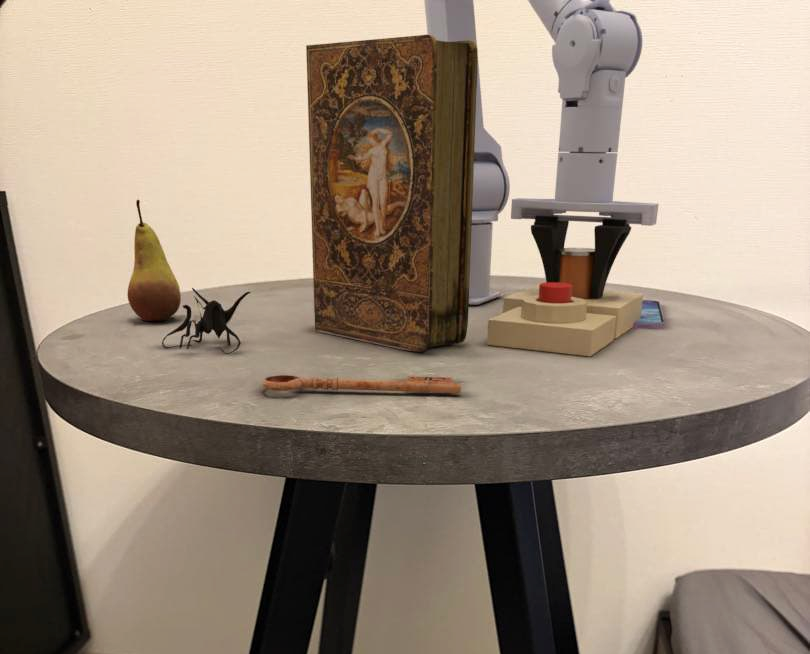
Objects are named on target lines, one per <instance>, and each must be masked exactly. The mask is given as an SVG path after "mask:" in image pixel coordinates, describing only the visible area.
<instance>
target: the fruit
mask: <svg viewBox="0 0 810 654" xmlns="http://www.w3.org/2000/svg"><path fill="white" fill-rule="evenodd" d="M140 203H141V202H140V199H137V200H136V202H135V204H136V208H137V214H138V218H139V223H138V224H137V225H136V226H135V229H134V230H135V232H134V249H133V250H134V263H133V271H132V274H131V276H130V279H129V283H128V287H127V300H128V303H129V305H130V308H131V310H132V311H133V312H134V313H135V314H136V316H137V317H139V318H140V319H141V320H143V321H147V322H155V321H159V322H161V321H166V320H168V319H170V318H172V317H173V316H174V315H175V314H176V313H177V312H178V310H179V308H180V307H181V301H182V295H181V289H180V286H179V282H178V280H177V278H176V276H175V274H174V273H173V270H172V268H171V266H170V264H169V262H168V260H167V256H166V254H165V251H164V249H163V246H162V244H161V241H160V239H159V237H158V235H157V234H156V232H155V230H154V229H153V228H152V227H151V226H150V225H149V224H148V223H147V222H144V221H143V217H142V213H141V205H140Z"/></svg>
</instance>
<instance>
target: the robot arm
mask: <svg viewBox="0 0 810 654" xmlns="http://www.w3.org/2000/svg"><path fill="white" fill-rule="evenodd" d="M527 1H528V3H529V4H530V6H531V8H532V9H533V10H534V12H535V13H536V16H537V17H538V18H539V20H540V21H541V23H542V25H543V27H544V28H545V29H546V31H547V32H548V34H549V36H550V37H551V39H552V40H553V42H554V44H552V46H551V56H552V58H551V59H552V63H553V66H554V68H555V71H556V73H557V77H558V85H557V86H558V88H557V93H558V94H559V98H560V100H561V112H560V113H561V114H560V126H559V138H558V139H559V140H558V153H557V163H556V178H555V191H554V198H521V197H518V198H512V199H511V207H510V208H511V209H510V219H511V220H534V221H533V224H531V225H530V232H531V235H532V237H533V240H534V241H535V244H536V247H537V249H538V253H539V255H540V258H541V262H542V266H543V270H544V278H545V283H547V282H559V270H560V256H561V254H558V249H560V248H565V243H566V238H567V234H568V229H569V222H583V223H602V224H599V225H595V226H594V249H595V260H594V271H593V278H592V285H591V299H599V298H601V297H602V296H603V292H604V291H605V288H606V284H607V281H608V278H609V275H610V273H611V270H612V267H613V265H614V263H615V261H616V259H617V256H618V255H619V252H620V250H621V249H622V247H623V245H624V244H625V241H626V240H627V238H628V236H629V235H630V233H631V230H632V226H630V225H640V226H648V227H649V226H650V227H651V226H655V225H657V220H658V212H659V205H660V204H659V203H655V202H654V203H653V202H652V203H651V202H636V201H634V202H633V201H621V200H620V201H618V200H614V190H615V183H616V182H615V181H616V172H617V171H616V170H617V163H618V162H617V161H618V152H619V142H620V134H621V125H622V114H623V113H622V112H623V107H624V95H625V85H626V78H627V77H629V76H630V75H631V74H632V73H633V71H634V70H635V69H636V67H637V65H638V64H639V61H640V57H641V54H642V49H643V34H642V33H643V32H642V30H641V26H640V24H639V22H638V18H637V16H636V15H635V14H634V13H633V12H631V11H627V10H617V9H616V8H615V7H614V6H613V5H612V4H611V0H527ZM423 2H424V12H425V22H426V23H425V24H426V35H432V36H434V37H435V39H436V40H438V41H445V42H456V41H467V40H469V41H473V42H475V43H476V45H477V46H478V42H477V41H478V40H477V29H476V17H475V4H474V0H423ZM481 91H482V90H481V77H480V66H479V60H478V61H477V90H476V118H475V145H474V172H473V199H472V227H471V254H470V281H469V305H471V306H472V305H473V306H477V305H481V304H484V303H485V302H488V301H491V300H494V299H497V298H499V297H501V296H502V292H501V291H491V289H490V288H491V269H492V268H491V267H492V249H493V247H492V246H493V231H494V230H493V227H494V226H493V225H494V223H493V222H498V221H499V214H501V213H502V212H503V211H504V209H505V208H506V206H507V204H508V200H509V196H510V191H511V190H510V187H511V185H510V177H509V174H508V170H507V168H506V166H505V164H504V159H503V154H502V153H503V152H502V146H501V144H499V143H498V142H497V140H496V139H495V138H494V137H493V136H492V135H491V134H490V132H488V130H486V128H485V127H484V126H485V125H484V115H483V103H482V102H483V101H482V92H481ZM567 212H573V213H574V212H575V213H598V216H592V215H591V216H590V215H588V216H587V215H568V214H567Z"/></svg>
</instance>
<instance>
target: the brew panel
mask: <svg viewBox="0 0 810 654" xmlns="http://www.w3.org/2000/svg"><path fill="white" fill-rule="evenodd" d="M538 299H539V295H538V296H528V297H526V298H523V299H522V307H517V308H514V309H512V310H510V311H507V312H505V313H503V312H502V313H501V314H497V315H496V316H493V317H491V318H489V319H488V321H487V340H486V341H487V342H486V344H487V346H495V347H502V348H511V349H521V350H529V351H530V350H531V351H538V352H547V353H554V354H562V355H563V354H564V355H565V354H566V355H572V356H582V357H592V356H593V355H595V354H596V353H597V352H599V351H600V350H602V349H603V348H605V347H606V346H608V345H609V344H611V343H612V342H613V341H614V340H615V339H614V330H615V321H616V316H612V315H601V314H591V313H586V310H587V301H585V300H584V299H581V298H576V297H571V303H544V302H539V301H538Z"/></svg>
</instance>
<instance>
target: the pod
mask: <svg viewBox="0 0 810 654" xmlns="http://www.w3.org/2000/svg"><path fill="white" fill-rule="evenodd" d="M558 254H561V256H560V270H559V283H567V284H571V285H572V292H571V297H576V298H581V299H584V300H588V299H591V285H592V278H593V271H594V260H595V248H592V247H564V248H560V249H558Z"/></svg>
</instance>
